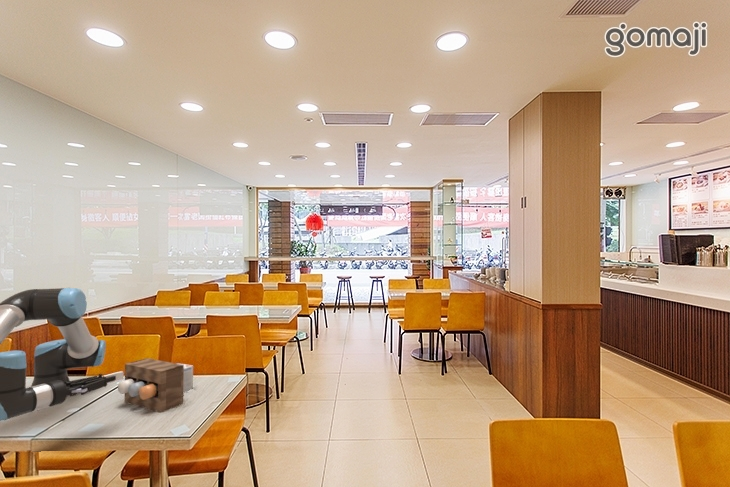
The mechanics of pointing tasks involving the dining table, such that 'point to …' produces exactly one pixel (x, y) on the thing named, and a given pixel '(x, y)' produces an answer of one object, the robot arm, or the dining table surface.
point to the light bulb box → (187, 377)
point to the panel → (157, 383)
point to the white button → (125, 385)
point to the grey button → (135, 388)
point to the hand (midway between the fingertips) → (122, 375)
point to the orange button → (148, 391)
